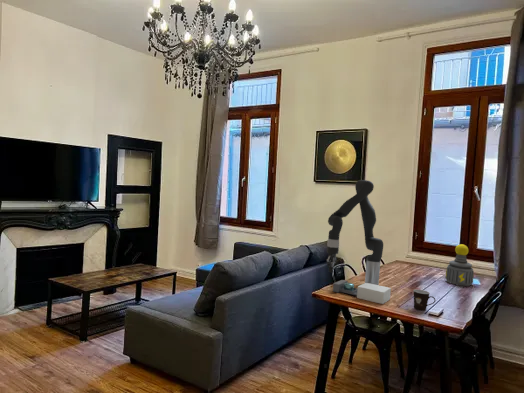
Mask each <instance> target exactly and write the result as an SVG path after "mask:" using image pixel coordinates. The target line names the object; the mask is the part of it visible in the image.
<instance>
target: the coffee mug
mask: <svg viewBox="0 0 524 393" xmlns="http://www.w3.org/2000/svg"><path fill="white" fill-rule="evenodd" d="M430 298H432V299H433V300H434V301H433V302H432V303H429V299H430ZM428 303H429V304H428ZM435 303H436V298H435V297H434V296H433V295H432V296H430V292H429V291H427V290H425V289H424V290H423V289H413V308H414V309H415V310H417V311H422V312H423V311H426V310H427V307H428V306H430V305H433V304H435Z"/></svg>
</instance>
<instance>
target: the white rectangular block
mask: <svg viewBox="0 0 524 393" xmlns="http://www.w3.org/2000/svg"><path fill="white" fill-rule="evenodd" d="M357 289H358V290H357V296H356V298H357V299H360V300H365V301H368V302H373V303H377V304H380V305H384V304H385V303H387V302H388V301H389V300H391V291H392V288H391V287H388V286H384V285H383V286H382V285H375V284H370V283H365V282H364V283H362V284H360V285H358V286H357Z"/></svg>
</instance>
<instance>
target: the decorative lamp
mask: <svg viewBox="0 0 524 393" xmlns="http://www.w3.org/2000/svg"><path fill="white" fill-rule="evenodd" d="M454 251H455V253H456V254H455V255H456V256H455V258H454V260H450V261H449V263H448V264H447V266H446V270H445V280H446V282H447V283H449V284H451V283H452V285H455V284H456V286H461V285H462V287H463V286H464V287H470V285H471V286H472V284H473V283H474V277H475V276H474V274H475V272H474V268H473V265H472V263H471V262H468V260H467V259H468V258H467V255H468V253H469V248H468V246H467V245H465V244H462V243H461V244H457V245H456V246H455V249H454Z"/></svg>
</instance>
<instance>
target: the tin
mask: <svg viewBox="0 0 524 393" xmlns="http://www.w3.org/2000/svg"><path fill="white" fill-rule="evenodd" d="M354 288H355V284H354V283H353V282H348V283H345V285H344V289H345V290H349V291H354Z"/></svg>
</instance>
